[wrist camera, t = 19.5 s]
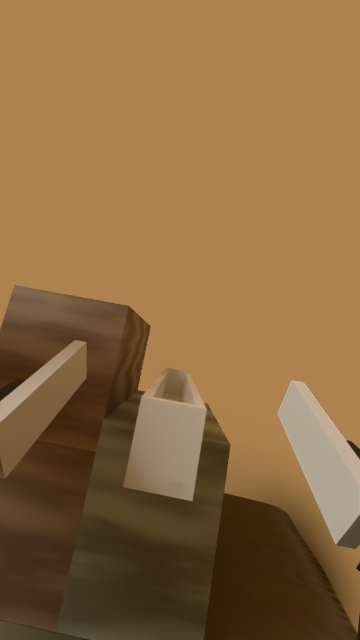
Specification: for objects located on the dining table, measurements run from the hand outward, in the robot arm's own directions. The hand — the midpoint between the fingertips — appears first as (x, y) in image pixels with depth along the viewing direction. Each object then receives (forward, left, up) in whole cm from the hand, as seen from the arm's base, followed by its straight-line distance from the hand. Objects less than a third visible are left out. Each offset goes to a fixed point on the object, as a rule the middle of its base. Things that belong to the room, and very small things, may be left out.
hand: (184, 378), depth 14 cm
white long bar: (-7, +10, -6) cm, 14 cm away
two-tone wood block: (-16, +11, -24) cm, 31 cm away
